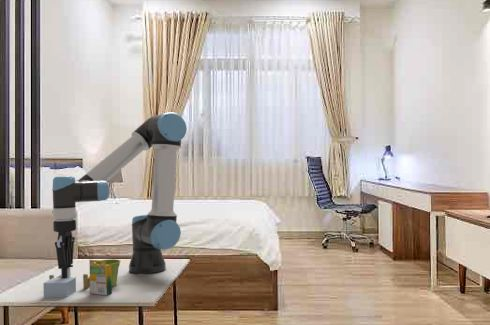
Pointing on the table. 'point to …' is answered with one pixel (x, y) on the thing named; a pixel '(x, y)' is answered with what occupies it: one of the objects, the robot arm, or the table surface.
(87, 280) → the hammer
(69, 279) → the block
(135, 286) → the table surface
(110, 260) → the plant pot
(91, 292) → the crayon box
